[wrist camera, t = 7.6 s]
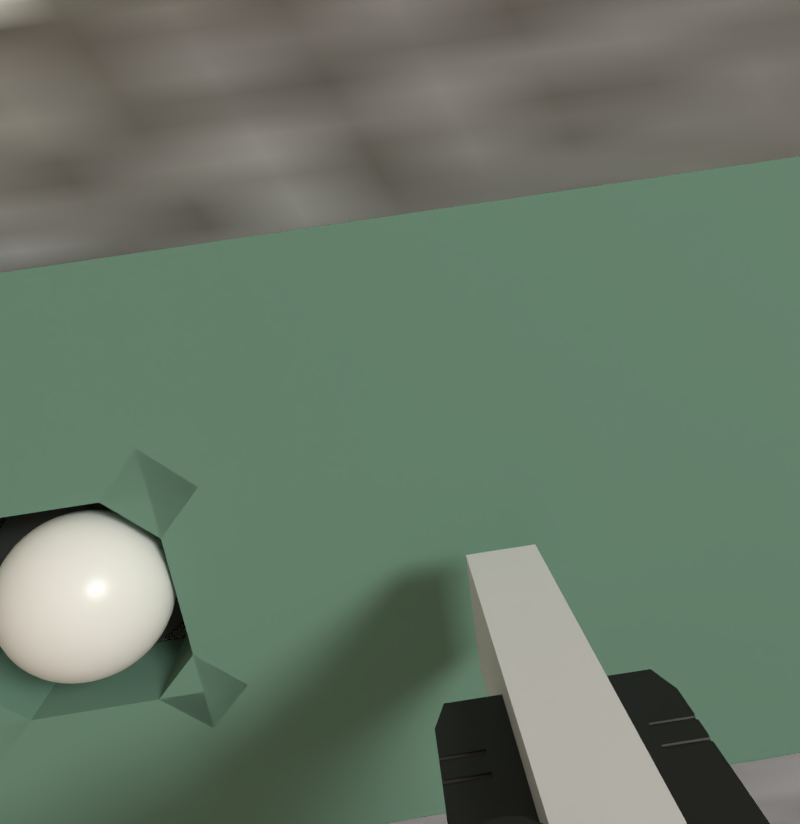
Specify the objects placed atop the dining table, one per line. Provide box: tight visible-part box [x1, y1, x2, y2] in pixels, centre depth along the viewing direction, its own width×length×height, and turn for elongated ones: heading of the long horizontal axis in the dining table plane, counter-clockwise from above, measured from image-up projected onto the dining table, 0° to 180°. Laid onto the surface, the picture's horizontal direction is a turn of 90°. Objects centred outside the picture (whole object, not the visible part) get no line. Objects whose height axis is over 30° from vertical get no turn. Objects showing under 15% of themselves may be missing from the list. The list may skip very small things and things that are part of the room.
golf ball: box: [0, 510, 176, 684], centre depth 15 cm, size 4×4×4 cm
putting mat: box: [0, 156, 800, 824], centre depth 16 cm, size 26×16×2 cm, turn 98°
